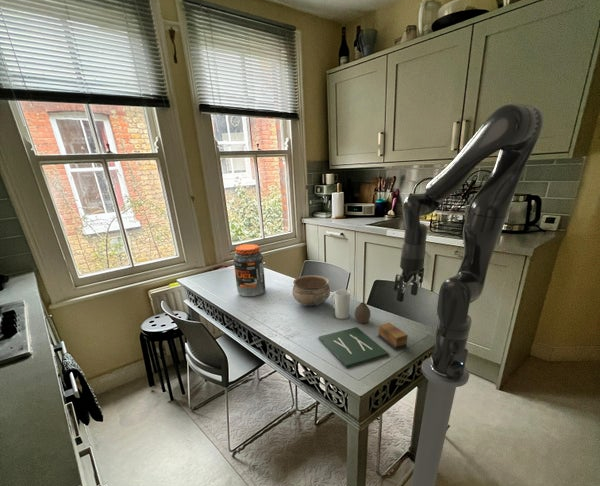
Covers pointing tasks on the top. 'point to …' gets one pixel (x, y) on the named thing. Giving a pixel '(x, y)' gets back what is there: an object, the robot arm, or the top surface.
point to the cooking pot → (311, 290)
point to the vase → (362, 313)
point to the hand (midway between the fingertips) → (406, 297)
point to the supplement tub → (249, 270)
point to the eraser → (393, 336)
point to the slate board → (352, 347)
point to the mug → (341, 303)
